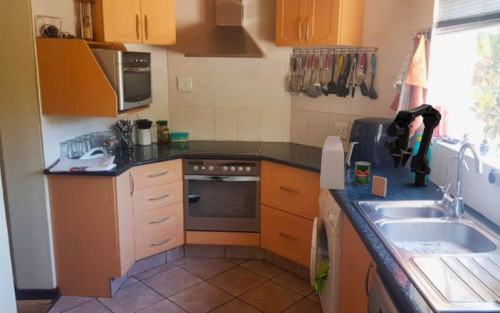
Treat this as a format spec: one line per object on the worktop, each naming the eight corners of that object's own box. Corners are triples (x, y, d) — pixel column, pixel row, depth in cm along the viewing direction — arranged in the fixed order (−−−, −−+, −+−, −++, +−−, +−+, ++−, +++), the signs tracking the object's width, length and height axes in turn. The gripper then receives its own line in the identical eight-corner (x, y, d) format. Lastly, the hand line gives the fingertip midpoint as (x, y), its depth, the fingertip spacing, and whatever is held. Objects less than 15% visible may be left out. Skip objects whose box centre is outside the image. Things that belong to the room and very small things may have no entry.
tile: (373, 193, 219) (375, 175, 217) (385, 196, 213) (386, 178, 212) (371, 193, 218) (373, 176, 216) (383, 197, 213) (384, 178, 211)
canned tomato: (358, 185, 233) (359, 165, 230) (351, 181, 240) (352, 162, 238) (372, 184, 235) (373, 164, 233) (364, 180, 242) (365, 161, 240)
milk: (320, 188, 227) (321, 138, 222) (319, 182, 238) (321, 134, 233) (344, 189, 226) (346, 138, 220) (342, 183, 237) (344, 135, 231)
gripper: (393, 133, 230) (390, 163, 233) (380, 135, 216) (376, 167, 218) (415, 136, 224) (411, 167, 226) (402, 138, 209) (398, 170, 211)
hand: (399, 167), depth 220 cm, fingers open, 9 cm apart
